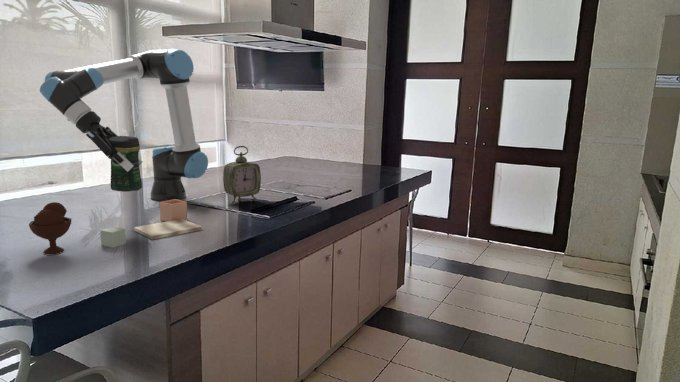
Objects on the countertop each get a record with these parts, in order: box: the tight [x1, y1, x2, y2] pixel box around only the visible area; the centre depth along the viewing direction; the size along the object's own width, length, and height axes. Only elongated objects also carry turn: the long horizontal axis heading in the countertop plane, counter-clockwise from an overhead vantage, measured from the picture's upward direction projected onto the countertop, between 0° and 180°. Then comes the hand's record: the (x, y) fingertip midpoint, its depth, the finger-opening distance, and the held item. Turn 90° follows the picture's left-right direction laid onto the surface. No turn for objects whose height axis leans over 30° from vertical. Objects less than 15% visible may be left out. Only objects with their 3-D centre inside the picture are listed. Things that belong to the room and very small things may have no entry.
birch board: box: [133, 219, 203, 241], centre depth 171 cm, size 18×14×1 cm
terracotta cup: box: [159, 199, 189, 222], centre depth 185 cm, size 7×7×7 cm
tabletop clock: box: [222, 145, 262, 206], centre depth 214 cm, size 14×9×25 cm, turn 131°
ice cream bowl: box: [28, 201, 72, 255], centre depth 145 cm, size 11×11×15 cm
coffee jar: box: [108, 135, 143, 193], centre depth 167 cm, size 10×8×19 cm
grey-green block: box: [99, 226, 127, 248], centre depth 154 cm, size 5×5×5 cm
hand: (135, 166), depth 167 cm, fingers closed on coffee jar, 8 cm apart
